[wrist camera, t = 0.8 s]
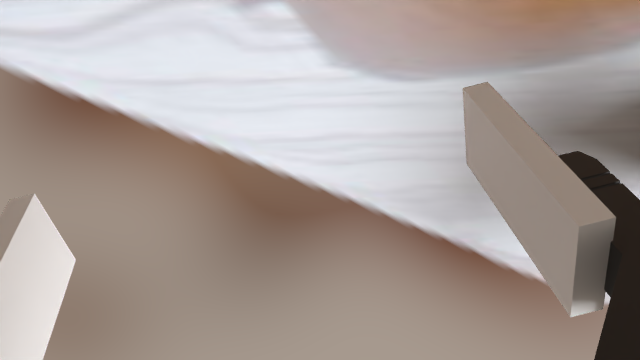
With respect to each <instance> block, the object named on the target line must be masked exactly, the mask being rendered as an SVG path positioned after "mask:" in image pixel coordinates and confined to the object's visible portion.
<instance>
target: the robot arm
mask: <svg viewBox="0 0 640 360" xmlns="http://www.w3.org/2000/svg"><path fill="white" fill-rule="evenodd" d="M463 103H464V121H465V140H466V159H467V165H468V166H469V168H470V169H471V171H472V172H473V174H474V175H475V176H476V178H477V179H478V181H479V182H480V184H481V185H482V187H483V188H484V190H485V191H486V193H487V194H488V196H489V197H490V199H491V200H492V202H493V203H494V205H495V206H496V208H497V209H498V211H499V212H500V214H501V215H502V216H503V218H504V219H505V221H506V222H507V224H508V225H509V227H510V228H511V230H512V231H513V233H514V234H515V236H516V237H517V239H518V240H519V242H520V243H521V245H522V246H523V248H524V249H525V251H526V252H527V254H528V255H529V257H530V258H531V259H532V261H533V262H534V264H535V265H536V267H537V268H538V270H539V271H540V273H541V274H542V276H543V277H544V279H545V280H546V282H547V283H548V285H549V286H550V288H551V289H552V291H553V292H554V293H555V295H556V297H557V298H558V300H559V301H560V302H561V304H562V305H563V307H564V308H565V310H566V311H567V313H568V314H569V316H570V317H573V316H577V315H581V314H586V313H590V312H593V311H598V310H602V309H603V306H604V299H605V292H607V293H608V295H609V296H610V297H611V299H610V303H609V307H608V310H607V314H606V318H605V322H604V325H603V329H602V333H601V336H600V340H599V344H598V347H597V351H596V355H595V359H594V360H640V200H639V199H638V198H637V197H636V196H635V195H634V194H633V193H632V192H631V191H630V190H629V189H628V188H626V187H625V186H624V185H623V184H620V181H619V180H618V179H617V178H616V177H615V176H614V175H613V174H610V171H609V170H608V169H606V168H605V167H604V166H603V165H602V164H601V163H600V162H599V161H598V160H597V159H595V158H593V157H590V156H588V155H586V154H584V153H582V152H579V151H576V152H572V153H568V154H563V155H559V156H558V155H557V154H556V153H555V152H554V151H553V150H552V149H551V148H550V147H549V146H548V145H547V144H546V143H545V142H544V141H543V140H542V139H541V138H540V137H539V136H538V134H537V133H536V132H535V131H534V130H533V129H532V128H531V127H530V126H529V125H528V124H527V123H526V122H525V121H524V120H523V119H522V118H521V117H520V116H519V114H518V113H517V112H516V111H515V110H514V109H513V108H512V107H511V106H510V105H509V104H508V103H507V102H506V101H505V100H504V99H503V98H502V97H501V96H500V94H499V93H498V92H497V91H496V90H495V89H494V88H493V87H492V86H491V85H490V84H489V83H488V82H486V83H481V84H477V85H473V86H469V87H465V88H463ZM75 261H76V259H75V258H74V256H73V254H72V253H71V251H70V250H69V248H68V247H67V245H66V243H65V242H64V240H63V238H62V237H61V236H60V234H59V232H58V231H57V229H56V227H55V226H54V224H53V222H52V221H51V219H50V218H49V216H48V214H47V213H46V211H45V210H44V208H43V206H42V205H41V203H40V201H39V200H38V198H37V197H36V195H35V194H30V195H26V196H22V197H18V198H14V199H10V200H9V201H8V203H7V205H6V207H5V209H4V210H3V212H2V214H1V216H0V360H43V357H44V354H45V351H46V348H47V345H48V342H49V339H50V336H51V333H52V330H53V327H54V324H55V321H56V318H57V315H58V312H59V308H60V306H61V303H62V300H63V297H64V294H65V291H66V288H67V285H68V282H69V279H70V276H71V273H72V270H73V267H74V264H75Z"/></svg>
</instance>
